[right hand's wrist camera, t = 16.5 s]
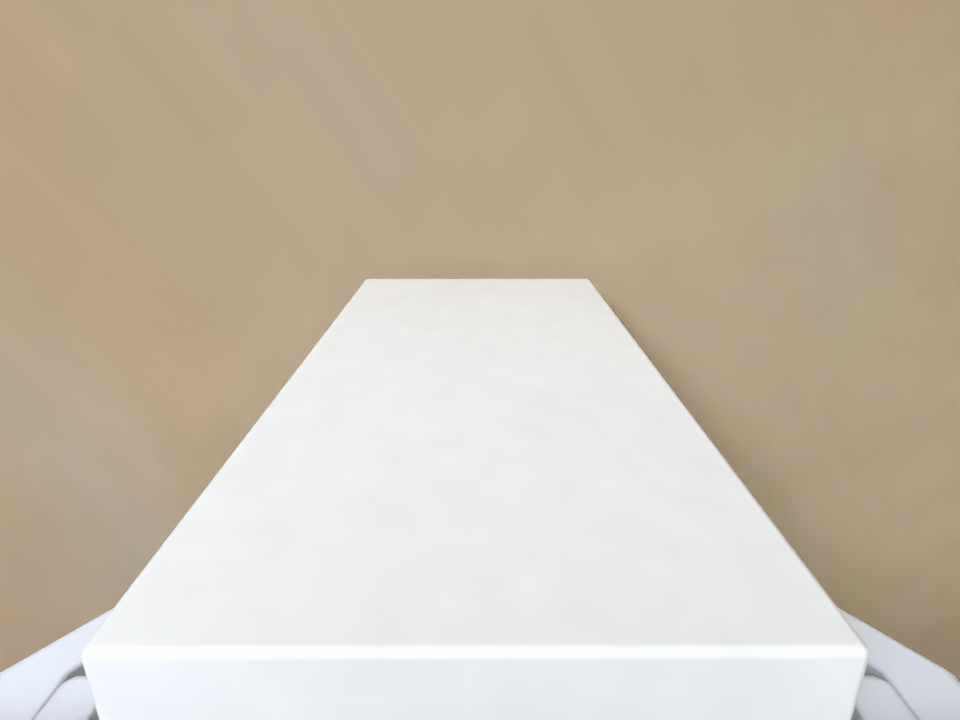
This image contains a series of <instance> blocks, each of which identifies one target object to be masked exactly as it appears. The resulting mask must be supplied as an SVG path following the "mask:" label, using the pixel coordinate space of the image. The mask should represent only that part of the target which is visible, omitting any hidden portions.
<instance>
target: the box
mask: <svg viewBox="0 0 960 720" xmlns="http://www.w3.org/2000/svg"><path fill="white" fill-rule="evenodd" d="M868 660H869V653H868V649H867V646H866V644H865V643H864V641H863V640H862V639H861V638H860V636H859V635H858V634H857V632H856V631H855V630H854V628H853V627H852V626H851V624H850V623H849V622H848V620H847V619H846V618H845V616H844V615H843V614H842V613H841V611H840V610H839V609H838V607H837V606H836V605H835V603H834V602H833V601H832V599H831V598H830V597H829V595H828V594H827V593H826V591H825V590H824V589H823V587H822V586H821V585H820V584H819V582H818V581H817V580H816V578H815V577H814V576H813V574H812V573H811V572H810V570H809V569H808V568H807V566H806V565H805V564H804V562H803V561H802V560H801V559H800V557H799V556H798V555H797V553H796V552H795V551H794V549H793V548H792V547H791V545H790V544H789V543H788V541H787V540H786V539H785V537H784V536H783V535H782V533H781V532H780V531H779V530H778V528H777V527H776V526H775V524H774V523H773V522H772V520H771V519H770V518H769V516H768V515H767V514H766V512H765V511H764V510H763V508H762V507H761V506H760V505H759V503H758V502H757V501H756V499H755V498H754V497H753V495H752V494H751V493H750V491H749V490H748V489H747V487H746V486H745V485H744V483H743V482H742V481H741V479H740V478H739V477H738V476H737V474H736V473H735V472H734V470H733V469H732V468H731V466H730V465H729V464H728V462H727V461H726V460H725V458H724V457H723V456H722V454H721V453H720V452H719V451H718V449H717V448H716V447H715V445H714V444H713V443H712V441H711V440H710V439H709V437H708V436H707V435H706V433H705V432H704V431H703V429H702V428H701V427H700V425H699V424H698V423H697V422H696V420H695V419H694V418H693V416H692V415H691V414H690V412H689V411H688V410H687V408H686V407H685V406H684V404H683V403H682V402H681V400H680V399H679V398H678V396H677V395H676V394H675V393H674V391H673V390H672V389H671V387H670V386H669V385H668V383H667V382H666V381H665V379H664V378H663V377H662V375H661V374H660V373H659V371H658V370H657V369H656V368H655V366H654V365H653V364H652V362H651V361H650V360H649V358H648V357H647V356H646V354H645V353H644V352H643V350H642V349H641V348H640V346H639V345H638V344H637V342H636V341H635V340H634V339H633V337H632V336H631V335H630V333H629V332H628V331H627V329H626V328H625V327H624V325H623V324H622V323H621V321H620V320H619V319H618V317H617V316H616V315H615V314H614V312H613V311H612V310H611V308H610V307H609V306H608V304H607V303H606V302H605V300H604V299H603V298H602V296H601V295H600V294H599V292H598V291H597V290H596V288H595V287H594V286H593V285H592V283H591V282H590V281H589V280H588V279H367V280H365V282H364V283H363V284H362V286H361V287H360V288H359V289H358V291H357V292H356V293H355V295H354V296H353V297H352V299H351V300H350V301H349V302H348V304H347V305H346V306H345V308H344V309H343V310H342V312H341V313H340V314H339V315H338V317H337V318H336V319H335V321H334V322H333V323H332V325H331V326H330V327H329V329H328V330H327V331H326V332H325V334H324V335H323V336H322V338H321V339H320V340H319V342H318V343H317V344H316V345H315V347H314V348H313V349H312V351H311V352H310V353H309V355H308V356H307V357H306V358H305V360H304V361H303V362H302V364H301V365H300V366H299V368H298V369H297V370H296V372H295V373H294V374H293V375H292V377H291V378H290V379H289V381H288V382H287V383H286V385H285V386H284V387H283V388H282V390H281V391H280V392H279V394H278V395H277V396H276V398H275V399H274V400H273V401H272V403H271V404H270V405H269V407H268V408H267V409H266V411H265V412H264V413H263V415H262V416H261V417H260V418H259V420H258V421H257V422H256V424H255V425H254V426H253V428H252V429H251V430H250V431H249V433H248V434H247V435H246V437H245V438H244V439H243V441H242V442H241V443H240V444H239V446H238V447H237V448H236V450H235V451H234V452H233V454H232V455H231V456H230V458H229V459H228V460H227V461H226V463H225V464H224V465H223V467H222V468H221V469H220V471H219V472H218V473H217V474H216V476H215V477H214V478H213V480H212V481H211V482H210V484H209V485H208V486H207V487H206V489H205V490H204V491H203V493H202V494H201V495H200V497H199V498H198V499H197V501H196V502H195V503H194V504H193V506H192V507H191V508H190V510H189V511H188V512H187V514H186V515H185V516H184V517H183V519H182V520H181V521H180V523H179V524H178V525H177V527H176V528H175V529H174V530H173V532H172V533H171V534H170V536H169V537H168V538H167V540H166V541H165V542H164V544H163V545H162V546H161V547H160V549H159V550H158V551H157V553H156V554H155V555H154V557H153V558H152V559H151V560H150V562H149V563H148V564H147V566H146V567H145V568H144V570H143V571H142V572H141V573H140V575H139V576H138V577H137V579H136V580H135V581H134V583H133V584H132V585H131V587H130V588H129V589H128V590H127V592H126V593H125V594H124V596H123V597H122V598H121V600H120V601H119V602H118V603H117V605H116V606H115V607H114V609H113V610H112V611H111V613H110V614H109V615H108V616H107V618H106V619H105V620H104V622H103V623H102V624H101V626H100V627H99V628H98V630H97V631H96V632H95V633H94V635H93V636H92V637H91V639H90V640H89V641H88V643H87V644H86V645H85V647H84V650H83V652H82V663H83V666H84V670H85V673H86V676H87V680H88V683H89V686H90V690H91V693H92V697H93V700H94V703H95V707H96V710H97V714H98V717H99V720H851V719H852V715H853V712H854V708H855V705H856V702H857V698H858V695H859V691H860V688H861V684H862V681H863V678H864V674H865V671H866V667H867V664H868Z"/></svg>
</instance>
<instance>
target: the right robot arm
mask: <svg viewBox="0 0 960 720" xmlns="http://www.w3.org/2000/svg"><path fill="white" fill-rule="evenodd" d="M113 609H114V608H113ZM113 609H111V610H109V611H108V612H106V613H104V614H102V615H101V616H99V617H97V618H95V619H94V620H92V621H90V622H88V623H87V624H85V625H83V626H81V627H80V628H78V629H76V630H74V631H72V632H71V633H69V634H67V635H65V636H64V637H62V638H60V639H58V640H57V641H55V642H53V643H51V644H50V645H48V646H46V647H44V648H43V649H41V650H39V651H37V652H36V653H34V654H32V655H30V656H29V657H27V658H25V659H23V660H22V661H20V662H18V663H16V664H15V665H13V666H11V667H9V668H8V669H6V670H4V671H2V672H0V720H99V717H98V714H97V710H96V707H95V703H94V700H93V697H92V693H91V690H90V686H89V683H88V680H87V676H86V673H85V670H84V666H83V663H82V652H83V650H84V647H85V645H86V644H87V643H88V641H89V640H90V639H91V637H92V636H93V635H94V633H95V632H96V631H97V630H98V628H99V627H100V626H101V624H102V623H103V622H104V620H105V619H106V618H107V616H108V615H109V614H110V613H111V611H112V610H113ZM838 609H839V610H840V611H841V613H842V614H843V615H844V616H845V618H846V619H847V620H848V622H849V623H850V624H851V626H852V627H853V628H854V630H855V631H856V632H857V634H858V635H859V636H860V638H861V639H862V640H863V641H864V643H865V644H866V646H867V649H868V653H869V660H868V664H867V667H866V671H865V674H864V678H863V681H862V684H861V688H860V691H859V695H858V698H857V702H856V705H855V708H854V712H853V715H852V719H851V720H960V681H959V680H958V679H957V678H956V677H955V675H954V674H953V673H951V672H949V671H948V670H946V669H944V668H942V667H941V666H939V665H937V664H935V663H934V662H932V661H930V660H928V659H927V658H925V657H923V656H921V655H920V654H918V653H916V652H915V651H913V650H911V649H909V648H908V647H906V646H904V645H902V644H901V643H899V642H897V641H895V640H894V639H892V638H890V637H889V636H887V635H885V634H883V633H882V632H880V631H878V630H876V629H875V628H873V627H871V626H869V625H868V624H866V623H864V622H863V621H861V620H859V619H857V618H856V617H854V616H852V615H850V614H849V613H847V612H845V611H843V610H842V609H840V608H838Z"/></svg>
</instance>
